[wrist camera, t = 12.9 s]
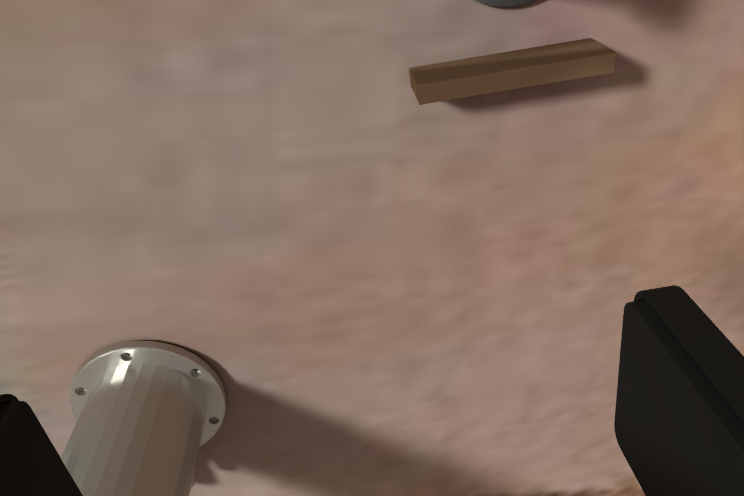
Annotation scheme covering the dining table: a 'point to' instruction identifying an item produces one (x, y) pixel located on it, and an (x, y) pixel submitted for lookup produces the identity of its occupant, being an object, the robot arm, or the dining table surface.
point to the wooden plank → (511, 70)
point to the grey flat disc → (504, 2)
